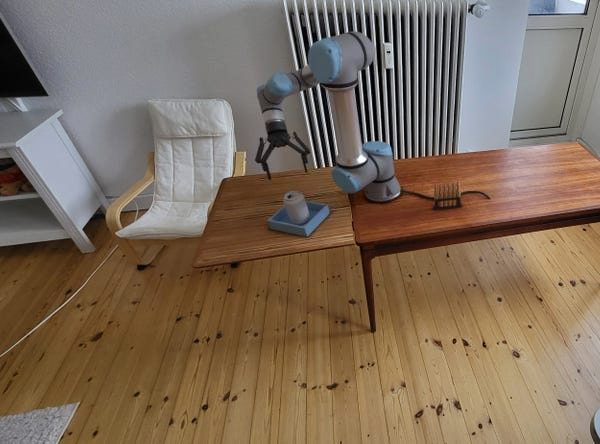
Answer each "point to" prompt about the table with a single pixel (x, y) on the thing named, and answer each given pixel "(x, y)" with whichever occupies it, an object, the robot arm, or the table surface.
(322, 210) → the tray
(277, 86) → the robot arm
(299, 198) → the can
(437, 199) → the ammunition clip
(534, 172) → the table surface
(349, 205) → the table surface
